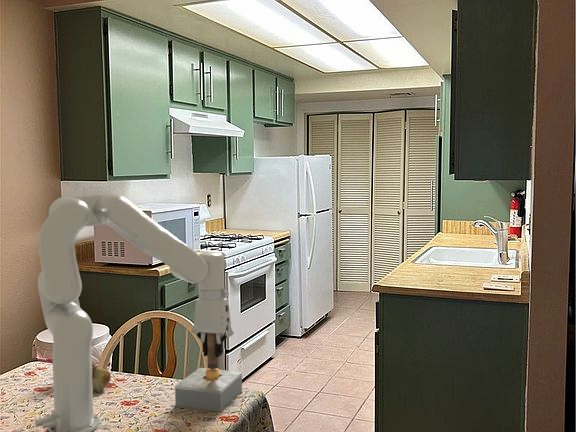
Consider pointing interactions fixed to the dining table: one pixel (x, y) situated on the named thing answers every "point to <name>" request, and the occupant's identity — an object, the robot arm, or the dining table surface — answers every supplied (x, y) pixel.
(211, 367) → the brown rounded rod
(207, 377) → the button
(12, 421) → the dining table surface
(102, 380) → the onion
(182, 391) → the box
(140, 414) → the dining table surface
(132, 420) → the dining table surface
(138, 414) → the dining table surface
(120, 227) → the robot arm
